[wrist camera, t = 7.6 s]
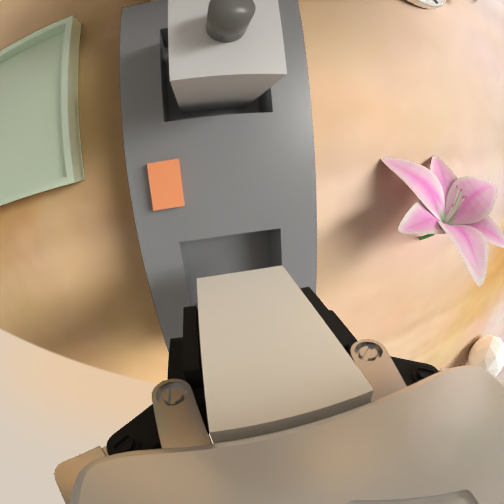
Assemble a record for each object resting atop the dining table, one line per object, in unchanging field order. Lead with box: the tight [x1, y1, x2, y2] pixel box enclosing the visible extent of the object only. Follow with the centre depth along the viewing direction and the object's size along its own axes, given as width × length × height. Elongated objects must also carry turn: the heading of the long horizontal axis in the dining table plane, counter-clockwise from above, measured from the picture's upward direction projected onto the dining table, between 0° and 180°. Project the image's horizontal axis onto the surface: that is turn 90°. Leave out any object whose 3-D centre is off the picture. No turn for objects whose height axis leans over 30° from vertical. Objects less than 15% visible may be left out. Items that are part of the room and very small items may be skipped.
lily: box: [381, 156, 504, 286], centre depth 18 cm, size 12×12×10 cm
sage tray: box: [0, 15, 85, 206], centre depth 12 cm, size 12×12×2 cm
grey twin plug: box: [168, 0, 287, 113], centre depth 10 cm, size 4×4×10 cm
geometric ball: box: [468, 335, 504, 376], centre depth 30 cm, size 8×8×8 cm
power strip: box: [120, 0, 317, 352], centre depth 15 cm, size 22×10×4 cm, turn 4°
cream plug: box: [197, 265, 374, 443], centre depth 9 cm, size 4×4×10 cm
